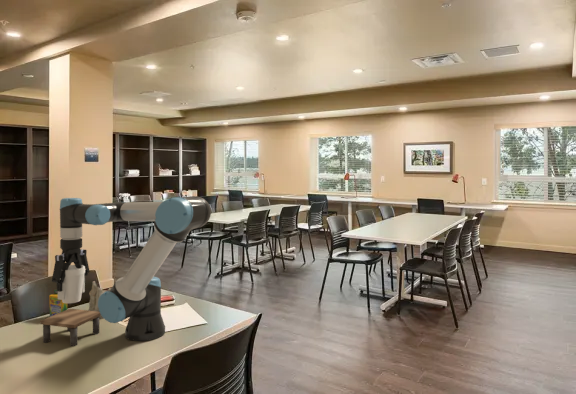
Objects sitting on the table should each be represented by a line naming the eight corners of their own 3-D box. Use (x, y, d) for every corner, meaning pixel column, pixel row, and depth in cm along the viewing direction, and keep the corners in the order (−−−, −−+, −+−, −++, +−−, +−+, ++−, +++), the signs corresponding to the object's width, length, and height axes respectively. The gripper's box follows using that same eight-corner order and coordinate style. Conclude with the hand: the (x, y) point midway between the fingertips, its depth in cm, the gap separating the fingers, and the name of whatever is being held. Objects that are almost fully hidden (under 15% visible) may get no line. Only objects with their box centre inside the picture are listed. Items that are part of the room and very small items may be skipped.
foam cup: (73, 305, 155) (73, 271, 154) (51, 303, 157) (51, 269, 156) (90, 298, 164) (90, 265, 163) (69, 296, 166) (69, 264, 165)
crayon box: (49, 317, 182) (48, 291, 182) (54, 314, 185) (54, 289, 185) (62, 319, 180) (62, 292, 180) (67, 316, 183) (67, 291, 182)
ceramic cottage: (95, 320, 179) (97, 285, 179) (82, 312, 191) (84, 279, 191) (130, 314, 190) (132, 282, 190) (116, 307, 202) (118, 276, 202)
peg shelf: (101, 332, 167) (101, 312, 166) (74, 347, 152) (74, 325, 152) (70, 328, 170) (70, 308, 170) (40, 342, 155) (40, 320, 155)
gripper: (83, 233, 170) (83, 287, 172) (39, 242, 149) (40, 303, 150) (99, 234, 169) (99, 288, 170) (57, 243, 147) (57, 305, 148)
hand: (71, 295), depth 160 cm, fingers closed on foam cup, 9 cm apart
